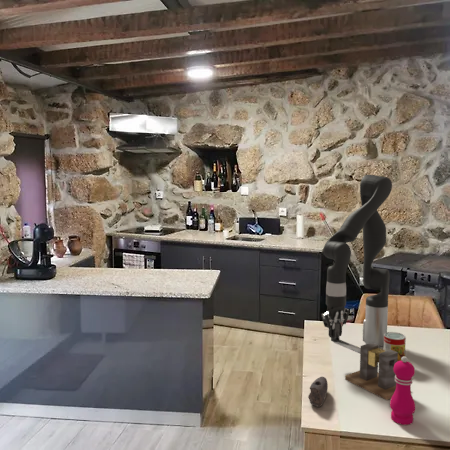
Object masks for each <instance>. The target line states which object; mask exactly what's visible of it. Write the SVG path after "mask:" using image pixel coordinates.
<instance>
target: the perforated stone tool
mask: <svg viewBox="0 0 450 450" xmlns="http://www.w3.org/2000/svg"><path fill="white" fill-rule="evenodd" d="M328 387H329V386H328V380H327V378H326V377H325V376H320V377H318V378H316V379H315V380H314V381H313V382H311V385H310V387H309V390H310V393H309V394H308V396H307V397H308V401H309V403H310V405H312V406H316V408H317V407H318V408H320V407H321V406H322V405H323V404H324V402H325V400H326V397H327V393H328V390H329V389H328Z"/></svg>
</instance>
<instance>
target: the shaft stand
mask: <svg viewBox="0 0 450 450" xmlns="http://www.w3.org/2000/svg"><path fill="white" fill-rule="evenodd" d="M360 348H361V350H360V353H359V354H360V355H359V357H360V359H359V370H357V371H354V372H352V373H348V374H347V375H344V376H345V379H344V380H345V381H347V382H349V383H351V384H353V385H355V386H356V387H359V388H362V389H363V390H366V391H368V392H370V393H372V394H373V395H374V396H375V395H376V396H378V397H379V398H381V399H384V400H386V401H390V400H391V397H392V396H393V394H394V392H395V389H396V381H395V375H396V374H395V373H394V370H393V368H394V365H395V363H396V362H397V361H398V352H395V351H393V350H388V351H385V352H382V353H379V363H378V362H377V366H376V367H374V366H371V365H369V364H368V351H369V350H372V349H375V348H380V346H379V345H377V344H375V343H368V344H366V343H365V344H362V345H360Z"/></svg>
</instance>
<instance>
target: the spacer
mask: <svg viewBox="0 0 450 450" xmlns="http://www.w3.org/2000/svg"><path fill="white" fill-rule="evenodd" d="M382 352H385V350H384V348H383V349H382V348H380V347H378V348H375V349H372V350H369V351H368V364H369V365H371V366H374V367H376V366H377V362H378V364H379V353H382Z"/></svg>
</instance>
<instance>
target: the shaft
mask: <svg viewBox="0 0 450 450" xmlns="http://www.w3.org/2000/svg"><path fill="white" fill-rule="evenodd" d="M331 325H332V322H331ZM334 329H335V337H334V338H330V341H331V342H333V344H336V345H338V346H341V347H343V348H346V349H348V350H351V351H352V352H355V353H357V354H360V350H361V346H357V345H354V344H352V343H350V342H347V341H344V340H342V339H341V338H340V337H341V336H340V323H339V322H336V323H335V328H334Z"/></svg>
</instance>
